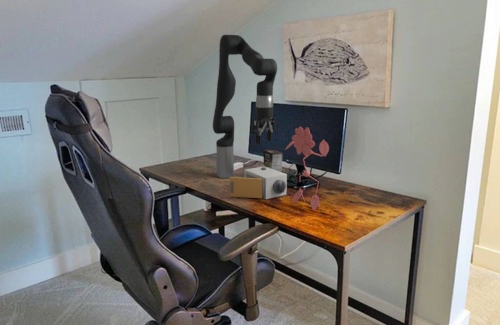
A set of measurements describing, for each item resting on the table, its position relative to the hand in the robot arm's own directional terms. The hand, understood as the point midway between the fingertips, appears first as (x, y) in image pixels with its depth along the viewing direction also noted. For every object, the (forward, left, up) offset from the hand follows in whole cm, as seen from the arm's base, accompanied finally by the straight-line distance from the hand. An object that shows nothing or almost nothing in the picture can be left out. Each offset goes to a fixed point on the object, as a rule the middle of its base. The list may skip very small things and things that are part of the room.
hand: (264, 142), depth 172 cm
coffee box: (-19, +19, -26) cm, 37 cm away
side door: (-3, -8, -25) cm, 27 cm away
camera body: (-6, +5, -26) cm, 27 cm away
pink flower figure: (+20, +5, -26) cm, 33 cm away
